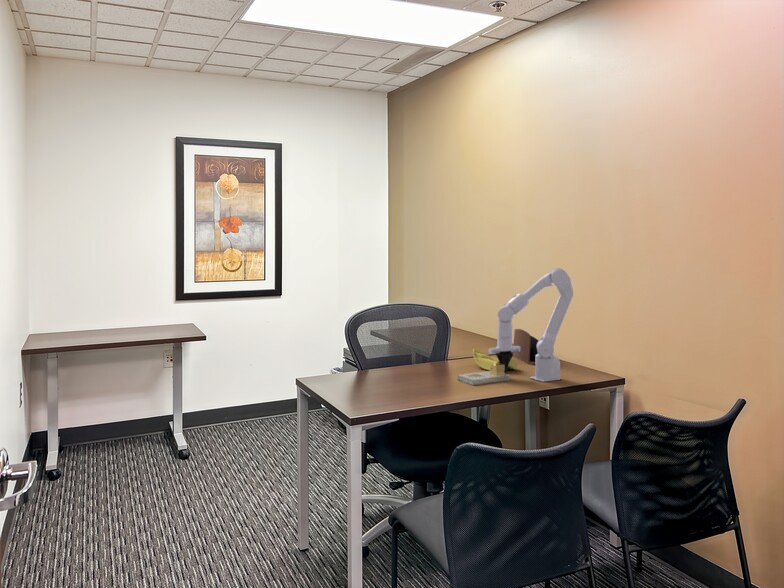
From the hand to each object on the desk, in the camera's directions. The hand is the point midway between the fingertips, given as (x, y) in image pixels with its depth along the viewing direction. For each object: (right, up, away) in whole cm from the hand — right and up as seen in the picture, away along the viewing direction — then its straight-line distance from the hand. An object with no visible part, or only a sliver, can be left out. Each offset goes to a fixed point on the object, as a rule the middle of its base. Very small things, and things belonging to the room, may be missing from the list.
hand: (504, 370), depth 248 cm
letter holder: (+19, 0, +37) cm, 42 cm away
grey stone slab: (-9, -3, -4) cm, 10 cm away
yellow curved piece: (-1, -2, +18) cm, 19 cm away
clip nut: (-3, -1, -2) cm, 3 cm away
